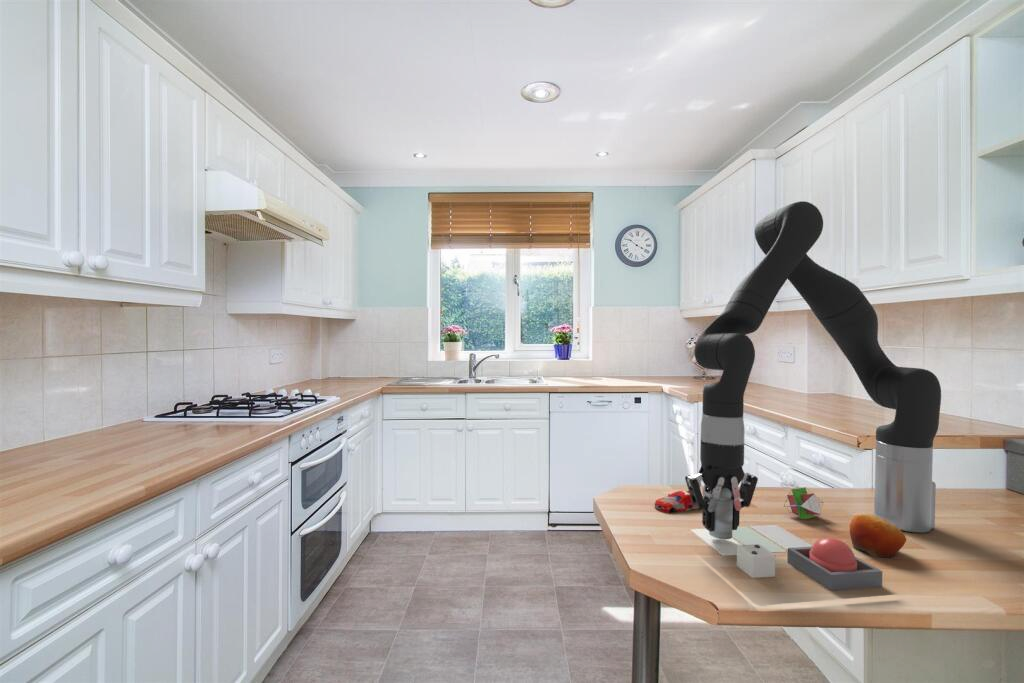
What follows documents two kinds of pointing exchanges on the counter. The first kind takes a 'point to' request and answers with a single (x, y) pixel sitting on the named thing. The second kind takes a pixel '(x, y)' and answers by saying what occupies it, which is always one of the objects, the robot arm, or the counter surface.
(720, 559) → the counter surface
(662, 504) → the race car
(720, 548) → the game board
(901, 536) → the fruit
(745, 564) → the die
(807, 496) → the geometric puzzle
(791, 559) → the gray square tray
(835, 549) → the dome
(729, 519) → the ridged rounded cylinder
